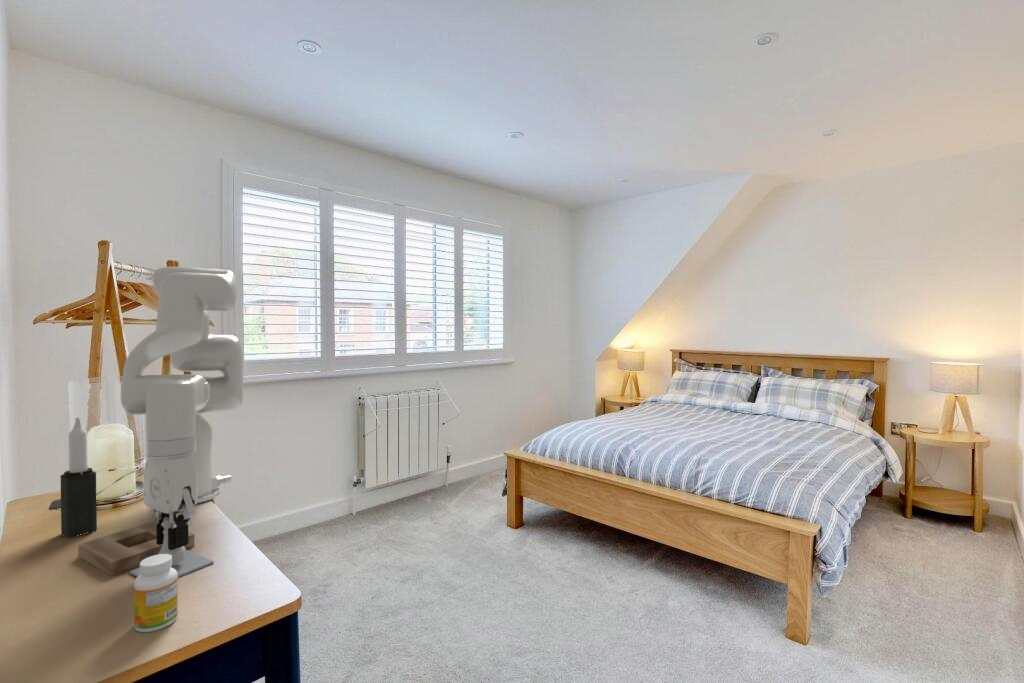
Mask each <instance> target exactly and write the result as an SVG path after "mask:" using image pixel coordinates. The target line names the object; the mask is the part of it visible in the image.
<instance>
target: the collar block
mask: <svg viewBox="0 0 1024 683" xmlns="http://www.w3.org/2000/svg"><path fill="white" fill-rule="evenodd" d="M158 523H159V522H158ZM156 524H157V523H156V521H155V520H154V521H151V522H148V523H145V524H142V525H138V526H136V527H131V528H129V529H125V530H122V531H118V532H116V533H115V532H114V533H112V534H109V535H108V534H107V535H106V536H102V537H98V538H95V539H90V540H88V541H84V542H82V543H79V544H77V545H78V552H77V553H78V558H79V557H80V558H79V559H81V558H82V559H81V560H83V559H84V560H83V561H85V560H86V561H88V562H89V563H88V562H87V563H88V564H90V563H91V564H90V565H92V566H94V567H95V566H96V567H95V568H98V569H99V570H101V571H103V572H104V571H105V572H104V573H106V574H108V575H109V576H111V575H112V577H114V576H116V574H117V575H119V574H122V573H124V572H127V570H128V571H131V570H133V569H136V568H139V567H140V562H141V561H142V560H144V559H146V558H148V557H150V556H154V555H158V553H159V552H160V551H161V548H162V546H163V544H161V545H158V544H157V543H156ZM184 547H185V549H186V550H189V549H191V548H194V547H195V533H192V532H190V531H188V544H187V545H185V546H184ZM86 561H85V562H86ZM138 566H139V567H138ZM135 567H136V568H135ZM132 568H133V569H132ZM130 569H131V570H130ZM113 575H114V576H113Z"/></svg>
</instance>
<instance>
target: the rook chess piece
mask: <svg viewBox="0 0 1024 683" xmlns="http://www.w3.org/2000/svg"><path fill="white" fill-rule="evenodd" d="M177 517H178V514H176V518H177ZM161 525H162V526H163V527H164V531H163V534H164V540H163V546H162V548H161V551H160V552H159V553H158V554H169V555H171V556H172V564H174V563H178V562H180V561H182V560H183V559H184V558H185V556H186V553H184V552H185V551H187V549H185V547H184V546H182V547H179V548H176V549H174V550H169V549H168V528H171V527H170V516H169V518H168V519H167V517H165V518H164V519H163V522H162V524H161Z"/></svg>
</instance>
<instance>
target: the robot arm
mask: <svg viewBox="0 0 1024 683" xmlns="http://www.w3.org/2000/svg"><path fill="white" fill-rule="evenodd" d="M152 284H153V288H154V290H155V292H156V295H157V296H158V302H157V313H156V314H157V315H156V321H155V322H156V324H155V330H154V331H153V332H151V333H150V334H149V335H147V336H146V337H144V338H143V339H142V340H141V341H139V343H137V344H136V346H135V347H133V348H132V350H131V352H130V353H129V354H128V356H127V358H126V360H125V362H124V365H123V371H122V372H123V373H122V379H121V385H120V386H121V387H120V404H121V406H122V409H123V410H124V411H125V412H126V413H128V414H131V415H140V416H141V415H145V425H146V426H145V429H146V430H145V431H146V432H145V435H146V437H145V440H146V441H145V442H146V444H145V446H146V448H145V449H146V450H145V451H146V460H145V466H144V477H143V500H142V501H143V504H144V505H145V507H148V508H149V509H152V510H153V511H154V513H155V516H154V522H155V521H156V523H157V524H156V543H157V544H158V545H161V544H163V540H164V534H163V531H164V527H163V526H162V525H161V524H162V522H163V519H164V518H165V517H167V519H168V518H169V516H170V527H171V528H168V549H169V550H174V549H176V548H179V547H182V546H185V545H187V544H188V532H189V525H190V523H191V522H190V520H191V518H192V517H194V516H196V511H195V510H196V509H195V506H196V505H197V504H201V503H206V502H208V501H210V500H213V499H215V498H217V497H218V496H219V495H220V491H221V489H220V488H219V487H220V485H221V484H227V483H230V482H232V475H231V474H226V475H224V476H221V475H216V476H215V475H214V474H213V473H214V470H213V464H214V463H213V462H214V460H213V459H214V458H213V456H214V454H213V451H214V449H213V447H214V446H213V444H214V443H213V439H214V438H213V437H214V436H213V427H212V426H211V424H210V422H209V421H208V420H206V418H205V417H203V415H201V414H205V413H216V412H217V413H220V412H232V411H235V410H238V409H239V408H241V406H242V403H243V401H244V369H243V368H244V365H243V364H244V360H243V357H244V356H243V355H244V354H243V347H242V346H243V345H242V343H241V341H240V339H239V338H238V337H237V336H235V335H230V334H211V332H210V315H209V313H208V312H207V311H209V312H210V311H211V312H212V311H214V312H215V311H218V312H219V311H220V312H228V311H231V310H233V309H234V308H235V305H236V303H237V299H238V297H237V296H238V290H239V289H238V287H239V286H238V280H237V277H236V275H235V273H234V272H233V271H231V270H229V269H220V268H219V269H218V268H208V267H207V268H206V267H205V268H204V267H191V266H190V267H189V266H164V267H160V268H157V269H155V271H154V272H153V274H152ZM169 355H170V362H171V364H172V367H173V369H175V370H177V371H181V372H193V373H194V372H196V373H197V372H221V373H223V375H200V374H193V373H189V374H187V373H185V374H148V375H146V374H145V375H143V373H144V371H145V370H146V368H147V367H148V366H149V365H150V364H152V363H153V362H155V361H157V360H159V359H161V358H163V357H166V356H169ZM204 496H205V497H204ZM207 499H208V500H207ZM180 506H181V507H180ZM180 513H181V514H180ZM178 514H179V515H178ZM176 515H178V517H177V518H176ZM158 522H159V523H158Z"/></svg>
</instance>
